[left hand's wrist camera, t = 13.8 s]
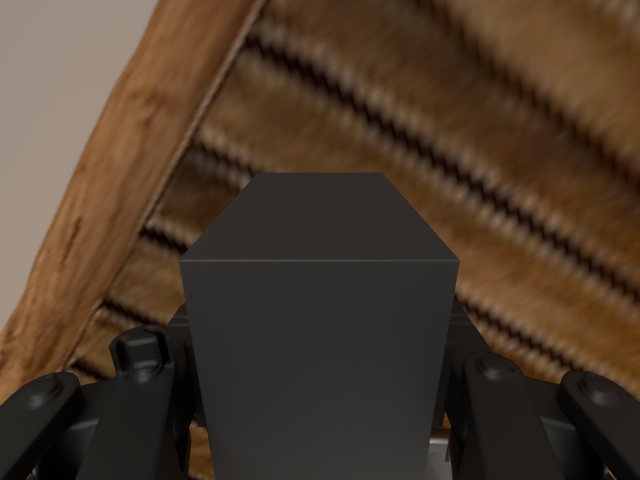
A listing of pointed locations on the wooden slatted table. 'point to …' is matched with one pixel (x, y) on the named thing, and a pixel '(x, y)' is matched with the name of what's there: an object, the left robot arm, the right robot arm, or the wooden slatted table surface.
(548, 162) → the wooden slatted table surface
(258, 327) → the bar
